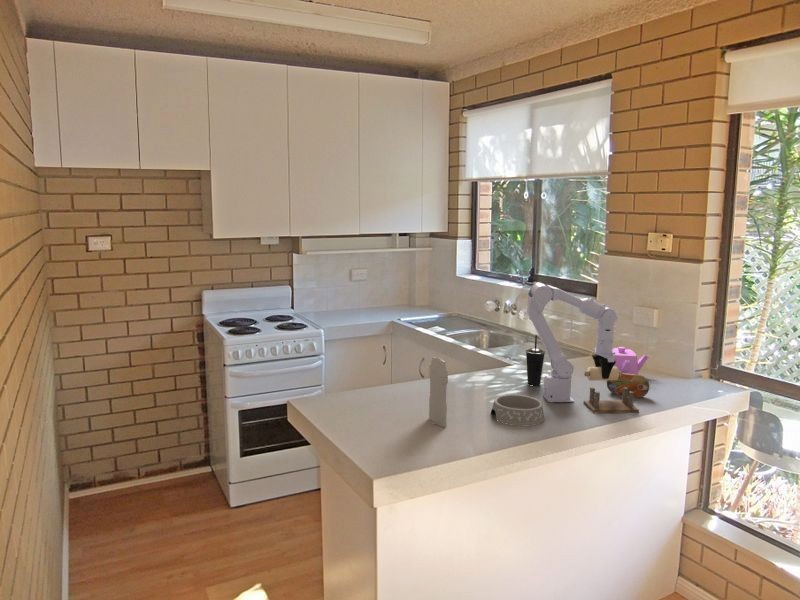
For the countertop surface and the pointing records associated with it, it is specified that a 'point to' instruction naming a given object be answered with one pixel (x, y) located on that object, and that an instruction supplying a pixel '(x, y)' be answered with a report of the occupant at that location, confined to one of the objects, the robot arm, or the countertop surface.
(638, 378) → the tin
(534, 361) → the drinking cup
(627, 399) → the holder
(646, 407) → the countertop surface
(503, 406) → the dog bowl
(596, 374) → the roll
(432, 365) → the dispenser
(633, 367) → the teakettle
